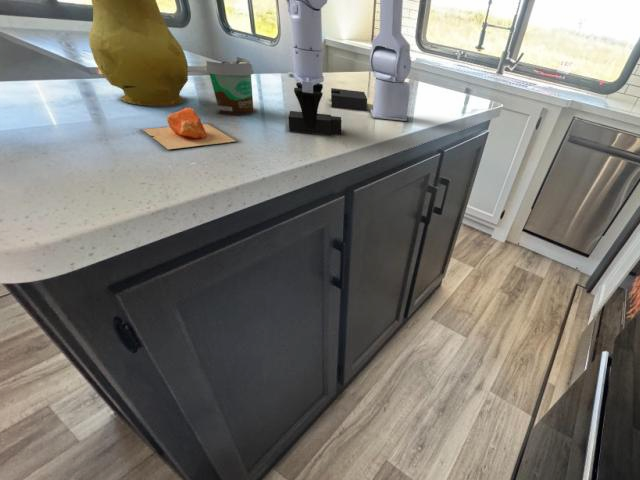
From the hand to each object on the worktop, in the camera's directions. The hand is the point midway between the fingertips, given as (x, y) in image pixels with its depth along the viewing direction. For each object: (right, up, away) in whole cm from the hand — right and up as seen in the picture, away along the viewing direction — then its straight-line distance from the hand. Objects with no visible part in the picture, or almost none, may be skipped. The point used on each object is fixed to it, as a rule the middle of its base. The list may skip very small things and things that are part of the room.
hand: (310, 123), depth 75 cm
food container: (-17, +5, +5) cm, 19 cm away
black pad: (+1, -1, +1) cm, 2 cm away
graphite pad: (+5, +18, +24) cm, 31 cm away
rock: (-20, -9, -12) cm, 25 cm away
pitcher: (-38, +8, +4) cm, 39 cm away
